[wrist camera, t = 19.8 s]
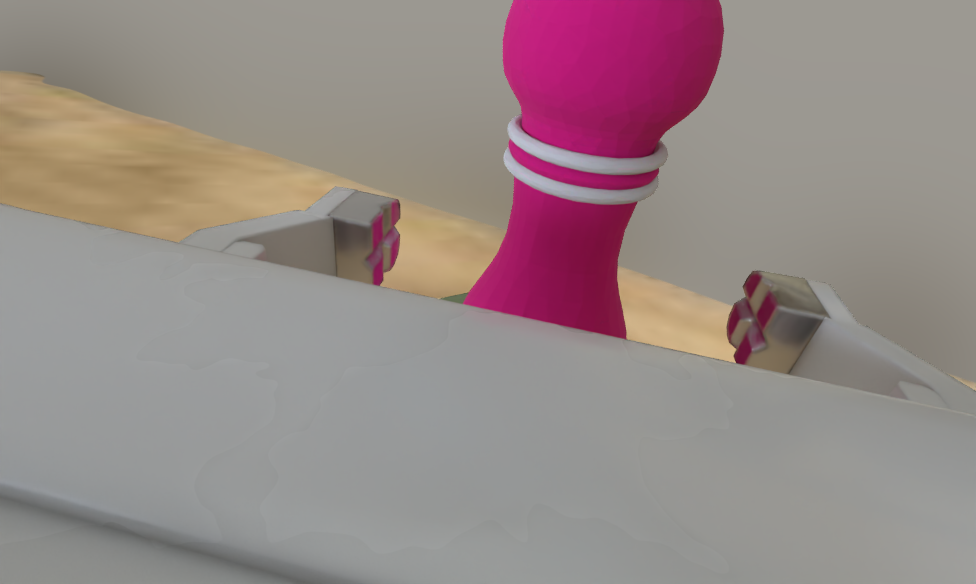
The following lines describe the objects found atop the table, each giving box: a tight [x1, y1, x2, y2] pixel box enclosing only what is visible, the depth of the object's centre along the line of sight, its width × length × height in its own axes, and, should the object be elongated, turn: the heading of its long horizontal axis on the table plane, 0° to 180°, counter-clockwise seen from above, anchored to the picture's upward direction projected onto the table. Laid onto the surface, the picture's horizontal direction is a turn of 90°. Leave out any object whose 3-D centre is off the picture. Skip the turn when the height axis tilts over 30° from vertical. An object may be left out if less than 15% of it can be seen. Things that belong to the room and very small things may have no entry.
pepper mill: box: [463, 0, 724, 339], centre depth 17 cm, size 7×7×20 cm
